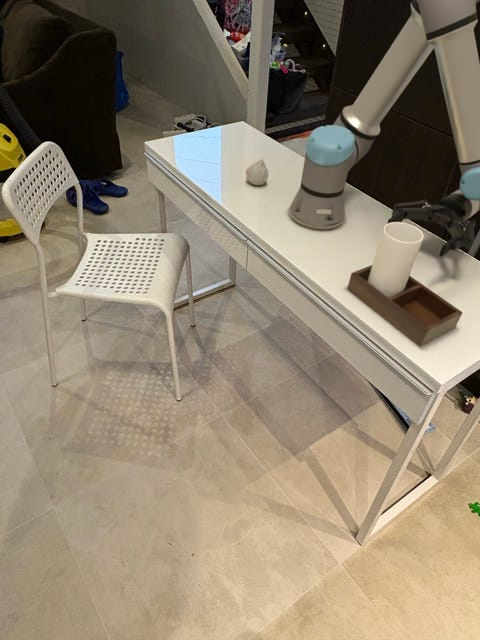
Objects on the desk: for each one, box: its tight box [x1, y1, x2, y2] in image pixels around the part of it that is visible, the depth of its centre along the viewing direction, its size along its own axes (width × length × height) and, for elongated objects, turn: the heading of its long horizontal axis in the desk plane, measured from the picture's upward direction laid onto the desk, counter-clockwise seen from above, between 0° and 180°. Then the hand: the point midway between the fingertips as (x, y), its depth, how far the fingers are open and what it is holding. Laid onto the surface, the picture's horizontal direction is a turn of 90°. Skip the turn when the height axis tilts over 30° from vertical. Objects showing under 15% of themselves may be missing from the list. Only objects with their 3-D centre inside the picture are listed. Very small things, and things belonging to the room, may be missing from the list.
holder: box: [347, 264, 464, 348], centre depth 108 cm, size 11×22×5 cm, turn 34°
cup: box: [367, 221, 425, 298], centre depth 107 cm, size 8×8×16 cm
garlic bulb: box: [244, 158, 269, 186], centre depth 147 cm, size 6×7×8 cm
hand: (414, 237), depth 109 cm, fingers open, 13 cm apart
